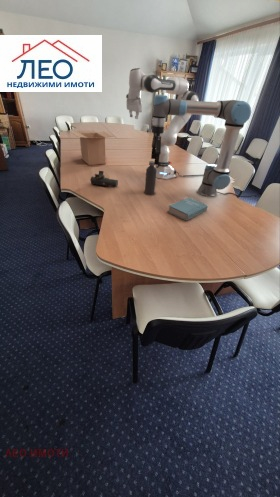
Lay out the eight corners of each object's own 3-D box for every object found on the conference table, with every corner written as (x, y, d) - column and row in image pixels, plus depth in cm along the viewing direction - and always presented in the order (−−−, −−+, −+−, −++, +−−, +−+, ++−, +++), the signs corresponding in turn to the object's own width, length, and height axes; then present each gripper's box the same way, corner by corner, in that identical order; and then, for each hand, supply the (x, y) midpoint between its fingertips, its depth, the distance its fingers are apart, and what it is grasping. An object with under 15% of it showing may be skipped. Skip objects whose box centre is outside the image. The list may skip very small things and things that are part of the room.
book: (187, 203, 164) (188, 197, 161) (206, 211, 155) (207, 205, 152) (167, 212, 150) (168, 205, 147) (187, 221, 142) (188, 214, 139)
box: (116, 165, 229) (116, 136, 213) (83, 168, 214) (80, 137, 198) (102, 154, 259) (101, 128, 243) (71, 156, 244) (68, 129, 228)
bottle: (147, 190, 180) (149, 160, 166) (155, 192, 178) (159, 162, 164) (142, 193, 175) (145, 162, 161) (151, 195, 172) (154, 164, 158)
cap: (150, 163, 165) (150, 160, 164) (155, 164, 164) (156, 161, 163) (148, 164, 162) (148, 162, 161) (153, 166, 161) (153, 163, 160)
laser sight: (115, 189, 177) (115, 177, 171) (88, 185, 180) (87, 173, 174) (118, 185, 185) (118, 173, 179) (93, 181, 188) (92, 169, 182)
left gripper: (144, 97, 156) (143, 120, 164) (132, 95, 170) (131, 116, 179) (136, 97, 153) (135, 119, 162) (125, 95, 168) (124, 116, 176)
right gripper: (149, 122, 145) (146, 156, 157) (155, 128, 125) (152, 167, 137) (160, 123, 146) (157, 156, 158) (168, 129, 126) (163, 167, 138)
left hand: (133, 118), depth 170 cm, fingers open, 8 cm apart
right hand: (154, 161), depth 148 cm, fingers open, 13 cm apart
